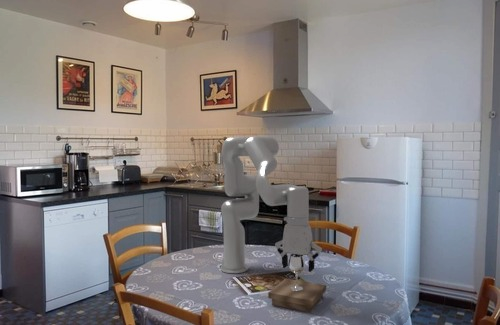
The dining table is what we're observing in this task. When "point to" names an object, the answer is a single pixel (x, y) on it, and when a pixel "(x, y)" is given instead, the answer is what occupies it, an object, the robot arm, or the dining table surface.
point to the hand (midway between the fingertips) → (297, 268)
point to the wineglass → (296, 268)
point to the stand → (297, 295)
